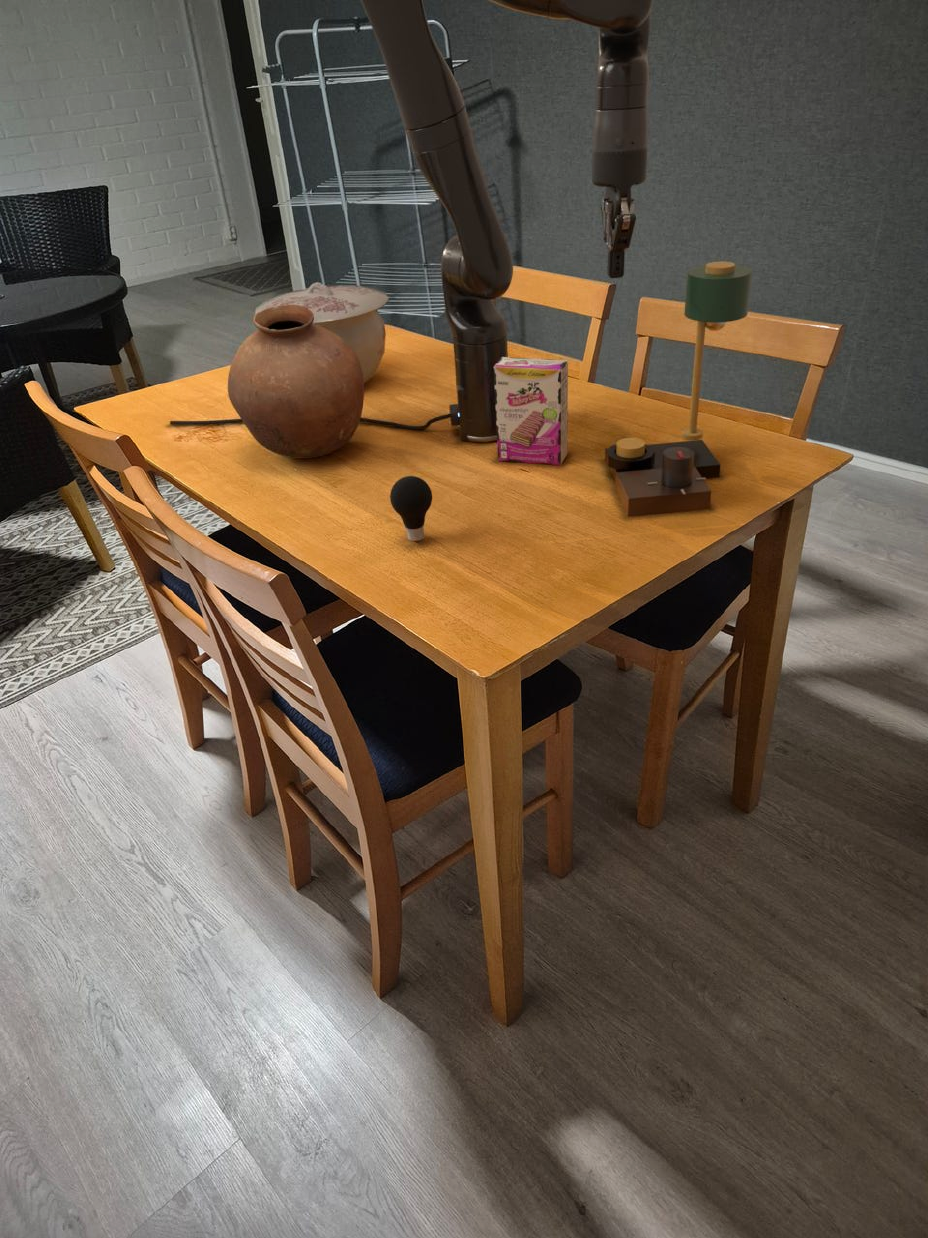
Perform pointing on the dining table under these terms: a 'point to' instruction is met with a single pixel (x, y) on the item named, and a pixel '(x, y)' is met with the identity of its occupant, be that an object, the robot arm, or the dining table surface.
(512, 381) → the candy bar box
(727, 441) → the dining table surface
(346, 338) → the chamber pot
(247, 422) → the pottery
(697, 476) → the dimmer panel
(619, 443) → the button
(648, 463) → the lamp base
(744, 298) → the desk lamp
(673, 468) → the dimmer knob
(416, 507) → the light bulb
